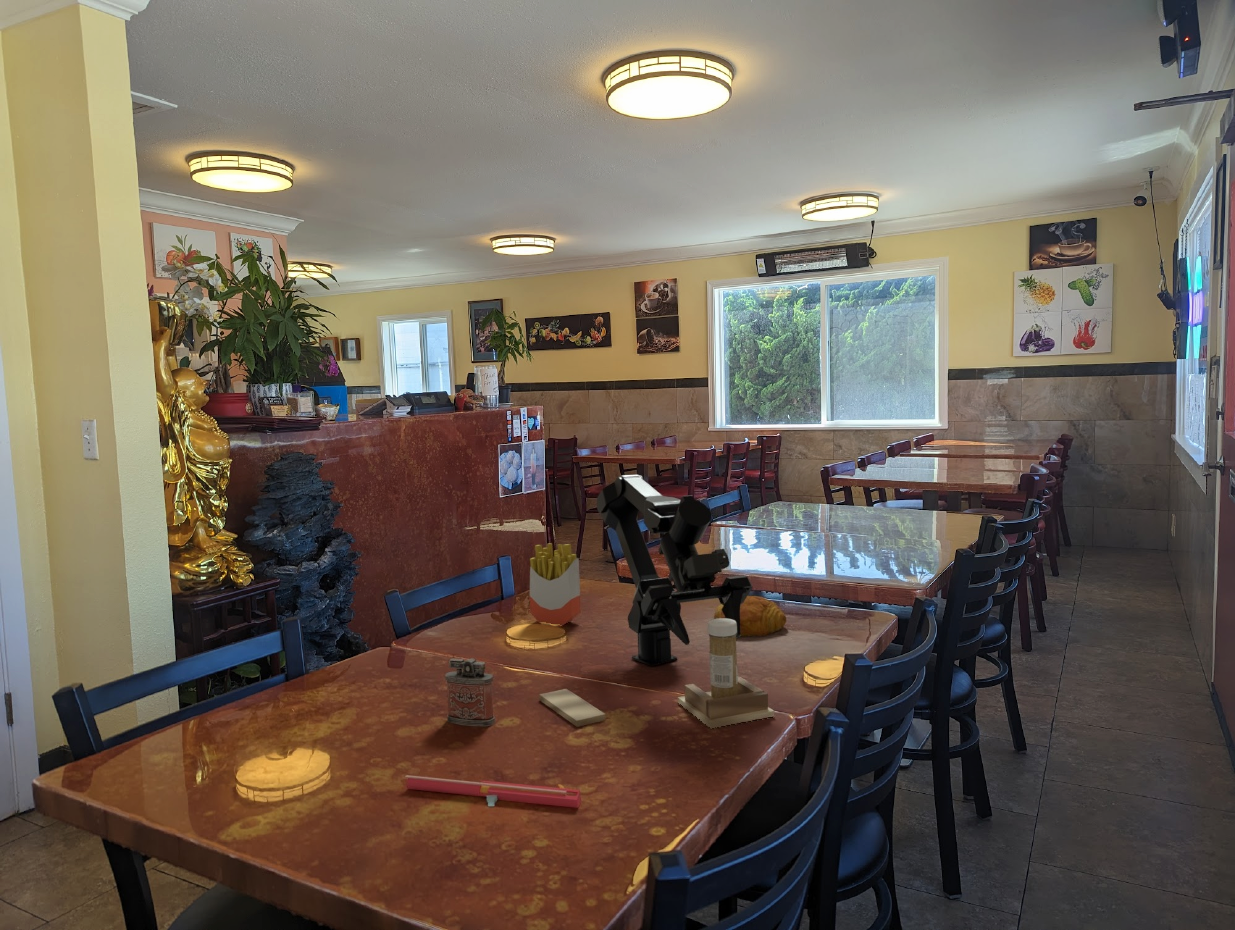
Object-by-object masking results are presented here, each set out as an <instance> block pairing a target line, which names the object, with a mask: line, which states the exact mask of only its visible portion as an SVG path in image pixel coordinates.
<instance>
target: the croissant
mask: <svg viewBox="0 0 1235 930" xmlns="http://www.w3.org/2000/svg"><path fill="white" fill-rule="evenodd" d="M723 606H724V605H722V604H719V605H718V606H717V607H716V609H715V612H714V616H713V619H719V618H725V616H724V614H723V611H722V608H723ZM786 623H787V617H786V615H785V613H784V611H783V610H782V609H781V608H780V606H778V605H777V603H776V602H774V601H771V600H770V599H768V598H766V597H762V596H757V595H748V596H747V597H746V599H745V601H744V602H743V603H742V604H740V636H739V637H765V636H769V634H774V633H775V632H777V631H779V630H781V629H783V628H784V626H785V624H786Z"/></svg>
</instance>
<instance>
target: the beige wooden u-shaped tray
mask: <svg viewBox="0 0 1235 930" xmlns="http://www.w3.org/2000/svg"><path fill="white" fill-rule="evenodd" d="M737 687H738V695H735V696H729V697H724V698H718V699H714V698H713V697H711V691H706V692H705V691H704V690H702V689H701V688H700V687H698V686H697V685H696V684H694V683H689V684H684V695H682V696H677V703H679V704H678V705H680V704H681V705H682V706H683V707H682V706H681V705H680V706H681V707H682V708H684V709H685V710H686V709H687V710H688V711H687V710H686V711H687V712H688V713H690V712H691V713H692V714H693V715H692V714H691V713H690V714H691V715H692V716H694V717H695V716H696V717H697V719H698V720H699V719H700V720H699V721H700V722H701V721H702V722H701V723H703V724H704V725H705V724H706V725H705V726H707V727H708V728H709V727H710V728H709V729H711V730H713V729H712V728H714V729H718V728H717V727H719V728H722V727H721V726H724V725H730V726H732V725H731V724H735V725H737V724H736V723H739V722H745V721H751V722H753V721H752V720H755V719H761V718H763V717H772V716H774V717H775V710H774V709H772V708H771V707H769V694H768V692H766V691H765V690H762V689H761V688H759V687H758V686H756V685H754V684H753V683H751V682H750V681H748V680H746V679H744V678H743V677H741V676H739V675H738V684H737ZM696 717H695V718H696ZM715 727H716V728H715Z"/></svg>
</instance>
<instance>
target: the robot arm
mask: <svg viewBox="0 0 1235 930" xmlns="http://www.w3.org/2000/svg"><path fill="white" fill-rule="evenodd" d="M596 509H597V513H599V514H600V516H601V518H602V520H603V522H604V524H605V525H606V526H608V527H609V528H611V529H612V530H614V531H615V533H616V536H617V538H618V542H619V544H620V547H621V549H622V553H623V555H624V557H625V558H624V559H625V560H626V563H627V566H628V569H629V571H630V574H631V577H632V579H633V583H634V585H635V592H634V595H633V599H632V606H631V609H630V611H629V613H628V615H627V622H628V628H629V629H630V630H632V631H633V632H635V633H636V634H637V652H638V653H637V654H634V655H631V659H632V660H634V661H637V662H639V663H642V664H645V665H647V666H649V667H654V666H658V665H661V664H665V663H669V662H672V661H677V660H678V656H676V655H674V654H673V655H672V639H671V632H672V633H673V635H675V636H676V637H677V638H678V639H679V640H680V641H681V643H683V644H684V645H685V646H688V645H690V637H689V633H688V631H687V629H686V627H685V623H684V621H683V619H682V616H681V609H682V606H681V604H682V603H687V602H698V601H704V600H706V601H707V600H713V599H715V600H716V599H718V600H719V603H720V604H719V605H721V604H722V605H724V606H723V608H722V611H723V614H724V616H725V618H727V619H732V620H735V621H736V623H737V633H736V639H739V638H740V637H741V636H740V604H742V603H743V602H744V601H745V599H746V597H747V596H749V594H750V593H751V591H752V589H753V584H752V582H751V580H750V578H749V577H748V576H746V575H736V576H727V577H725V579H724V581H723V582H722V584H721V585H719V586H718V585H717V586H712V585H711V584H713V583H715V580H716V579H717V578H716V576H715V575H717V574H718V573H719V574H720V573H722V572H723V571H722V570H724V569H727V568H728V567H729V566H730V558H729V556H728V553H727V551H726V549H725V548H718V549H717V548H716V549H714V551H713V550H712V551H711V552H710V553H702V554H699V553H698V550H697V547H696V545H697V544H698V543H699V542H700V541H701V539H702V538H703V536H704V535H705V532H706V530H707V529H708V528H707V527H708V526H709V524H710V523H711V520H712V511H711V510H710V508H709V507H707V505H705V504H704V503H703V502H702V501H699V500H696V499H695V497H694V495H682V496H681V498H680V499H679V498H677V497H671V496H665V495H662V493H660V492H658V491H657V490H656V489H655V488H654V487H652V486H651V485H650V484H649V483H648V482H646V481H645V480H644V477H643V476H642V475H639V474H623V475H619V476H617V477H616V478H615V480H614V481H613V482H612V483H610V484H608V485H606V486H605V487H603V488H602V489H601V490H600V493H599V494H598V495H597V497H596ZM640 512H641V513H642V514H643V524H644V526H645V527H646V528H647V530H648V532H650V533H651V534H652V535H656V534H663V535H662V537H661V539H660V542H659V547H658V554H659V555H660V556H661V555H663V556H664V559H665V562H666V565H667V567H668V570H669V573H668V576H667V577H660V576H659V574H658V571H657V569H656V567H655V564H654V561H653V559H652V556H651V554H650V551H649V548H648V546H647V543H646V540H645V537H644V535H643V533H642V531H641V528H640V525H639V522H638V517H639V513H640ZM673 583H674V586H673ZM674 587H675V588H674Z"/></svg>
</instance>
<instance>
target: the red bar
mask: <svg viewBox="0 0 1235 930" xmlns="http://www.w3.org/2000/svg"><path fill="white" fill-rule="evenodd" d="M405 779H407V780H406V788H407V789H408V790H415V791H416V790H417V791H425V792H434V793H436V792H437V793H445V794H452V795H453V794H454V795H463V796H473V797H484V798H485V797H486V803H487V807H493V808H494V807H495V804H496V803H497V802H498V800H500V801H507V802H518V803H526V804H538V805H546V806H548V805H549V806H556V807H565V808H567V807H568V808H577V809H578V808H579V807H580V805H581V803H582V797H581V790H580V789H573V788H565V786H564V785H562V784H560V783H559V784H557V787H553V786H552V787H551V786H544V785H543V786H542V785H530V784H524V783H523V784H521V783H511V782H499V781H492V780H491V781H490V780H489V781H488V780H481V782H478V781H467V780H458V779H448V778H447V779H446V778H439V777H438V778H437V777H429V776H428V777H427V776H418V775H410V774H409V775H408V774H407V775H405ZM568 793H569V794H576V795H568Z"/></svg>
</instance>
